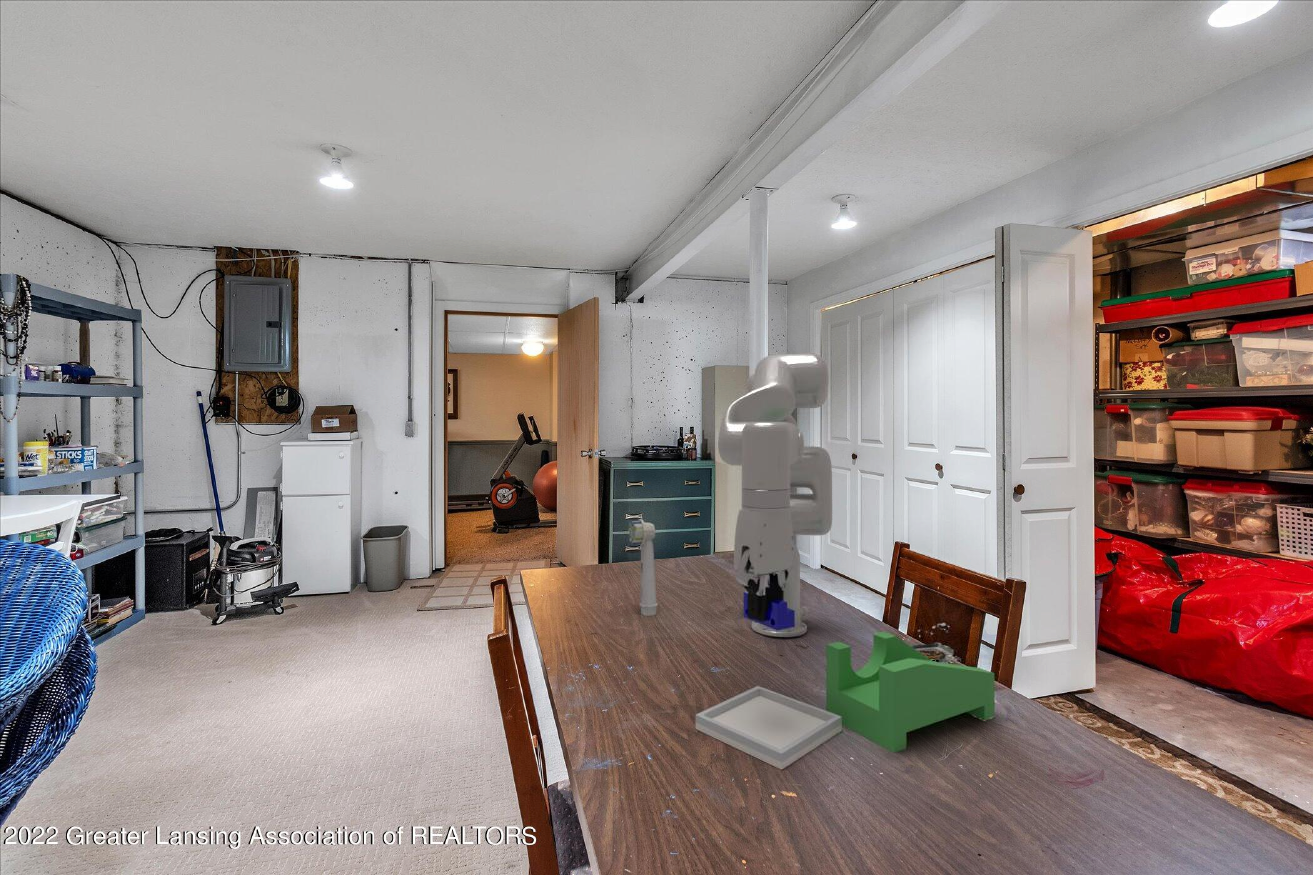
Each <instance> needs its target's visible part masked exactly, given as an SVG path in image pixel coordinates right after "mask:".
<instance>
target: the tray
mask: <svg viewBox="0 0 1313 875" xmlns="http://www.w3.org/2000/svg"><path fill="white" fill-rule="evenodd" d="M695 730H697V731H699V732H701V733H703V734H705V735H708V736H710V737H712V738H714V739H716V740H718V741H720V742H722V743H725V744H727V745H728V746H730V747H733V748H734V749H737V750H739V751H741V752H743V753H746V754H748V755H749V756H752V757H754V758H756V759H759V760H760V761H762V762H765V763H767V764H769V765H771V766H772V767H775V768H777V769H779V770H783V769H786V768H787V767H788V766H790V765H792V764H793V763H795V762H796V761H798V760H799V759H800V758H802V757H804V756H806V755H807V754H809V753H810V752H811V751H813V750H814V749H816V748H818V747H820V746H821V745H823V744H824V743H825V742H827V741H828V740H830V739H831V738H833V737H834V736H836V735H837V734H839V733H840V732H842V730H843V726H842V716H839V715H836V714H833V713H831V712H828V711H826V710H825V709H822V708H819V707H816V706H814V705H811V704H809V703H805V702H803V701H801V700H797V699H795V698H792V697H789V696H786V695H783V694H782V693H779V692H776V691H773V690H771V689H768V688H764V687H762V686H760V685H757V686H755V687H753V688H749V689H748V690H745V691H744V692H742V693H739V694H738V695H735V696H733V697H731V698H729V699H727V700H725V701H722V702H720V703H718V704H716V705H713V706H711V707H710V708H709V707H708V708H707V709H705V710H703V711H701V712H698V713H695Z"/></svg>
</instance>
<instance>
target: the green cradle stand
mask: <svg viewBox="0 0 1313 875" xmlns="http://www.w3.org/2000/svg"><path fill="white" fill-rule="evenodd" d="M872 637H873V649H872V652H871V655H870V658H869V659H868V661H867V663H866V664H865V665H864V666H863V667H862V668H861V669H859V670H857V671H854V669H853V666H852V660H851V659H852V656H851V654H852V652H851V648H852V647H851V646H850V645H847V644H845V643H843V642H841V641H836V642H831V643H826V650H825V651H826V652H825V653H826V654H825V656H826V658H825V659H826V666H825V667H826V668H825V669H826V670H825V672H826V682H825V684H826V690H825V691H826V693H825V694H826V703H825V704H826V708H825V709H826V710H825V711H828V712H831V713H833V714H836V715H839V716H842V725H843V726H844V727H846V728H848V729H850V730H852V731H853V732H855V733H857V734H859V735H861V736H862V737H864V738H866V739H868V740H870V741H872V742H873V743H875V744H877V745H879V746H880V747H882V748H883V749H886V750H888V751H890V752H891V753H894V754H895V753H898V752H901V751H903V750H905V749H907V733H909V732H912V731H916V730H917V729H920V728H923V727H927V726H929V725H932V724H936V723H937V722H940V721H944V720H947V719H949V718H952V717H955V716H959V715H961V714H963V713H966V712H967V714H968V713H970V714H971V715H974V716H976V717H978V718H981V719H982V720H987V719H989V718H991V717H993V716H995V715H996V714H995V711H996V710H995V703H996V702H995V673H994V672H992V671H989V670H986V669H983V668H981V667H973V666H967V665H962V664H957V665H956V664H955V663H954V664H953V663H949V664H947V663H940V662H937V661H936V662H935V661H931V660H930V659H928V658H927V657H925V656H924V654H923V653H920V652H919V651H917V650H915V649H914V648H913V647H911V646H912V645H910V644H908V643H907V642H906V641H904V640H902V639H901V638H900V637H898V636H897V635H895V634H892V633H889V632H886V631H880V632H876V633H872ZM905 642H906V643H905ZM970 714H969V715H970ZM971 715H970V716H971ZM982 720H981V721H982Z"/></svg>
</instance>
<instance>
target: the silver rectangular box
mask: <svg viewBox="0 0 1313 875" xmlns="http://www.w3.org/2000/svg"><path fill="white" fill-rule="evenodd" d="M939 626H941V628H939V629H941V631H943V630H944V631H945V632H946V633H948V631H949V629H948V630H946V628H942V627H945V626H947V628H950V625H949V624H946V623H945V622H942V623H941V622H940V623H937V625H933V626H932V629H936V627H939ZM920 631H921V629H919V630H917V632H920ZM925 632H926V633H928V631H926V630H925ZM932 632H933V631H931V632H929V633H930V635H933V634H934V633H932ZM918 636H919V638H921V635H920V634H919V635H918ZM907 641H908V642H911V639H910V637H909V638H907ZM907 641H904V642H905V643H907ZM910 646H911V647H913V648H914V649H915V650H917V651H918V652H920V653H921V654H923V655H924V656H925V657H927V658H928V659H930V660H935V661H934V662H937V661H936V660H938V661H940V663H947V664H950V661H953V660H954V661H955V662H958V656H956V655H955V656H953V655H954V652H955V650H954V649H952V648H951V647H950V646H949V645H947V646H946V645H945V644H944V645H943V644H942V643H941V642H935V643H928V644H922V643H920V644H913V645H910ZM937 652H938V653H937ZM959 660H960V661H961V660H962V659H961V658H959ZM955 665H958V664H957V663H956V664H955Z"/></svg>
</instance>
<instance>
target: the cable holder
mask: <svg viewBox="0 0 1313 875" xmlns="http://www.w3.org/2000/svg"><path fill="white" fill-rule="evenodd" d="M743 618H744V619H747V620H749V621H750V620H751V622H752V621H755V622H757V623H760V624H762V625H765V626H767V627H770V628H772V629H775V630H777V631H778V630H782V629H787V628H792V627H795V610H792V609H789V608H787V602H786V601H783V600H777V601H771V604H770V608H769V610H768V611H767V610H766V621H763V622H761V621H758V620H754V619H750V618H748V593H746V592H745V591H743Z"/></svg>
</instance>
